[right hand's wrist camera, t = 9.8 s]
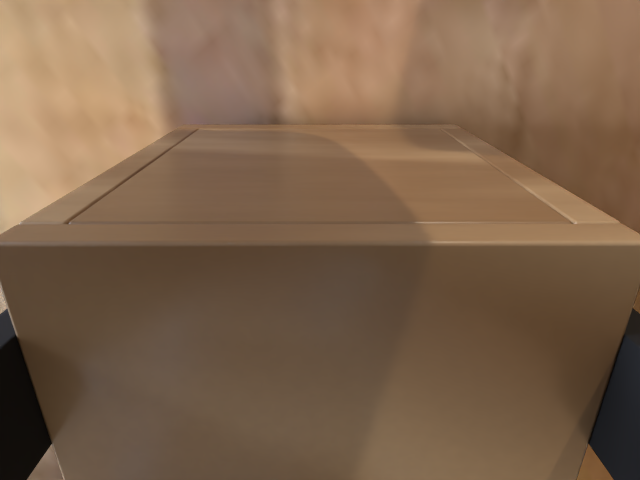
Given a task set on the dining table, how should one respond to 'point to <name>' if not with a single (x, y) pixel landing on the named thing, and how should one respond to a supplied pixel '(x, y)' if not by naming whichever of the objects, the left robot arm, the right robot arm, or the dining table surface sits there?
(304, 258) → the cabinet
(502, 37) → the dining table surface
